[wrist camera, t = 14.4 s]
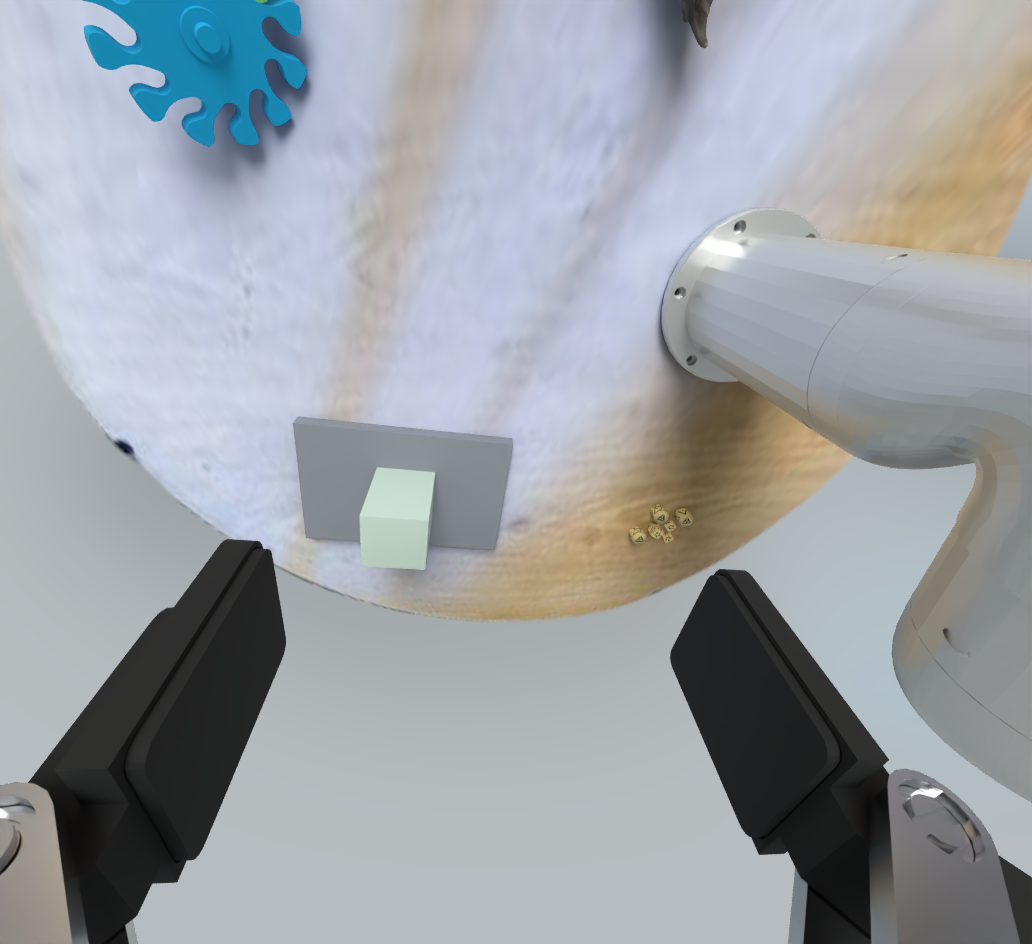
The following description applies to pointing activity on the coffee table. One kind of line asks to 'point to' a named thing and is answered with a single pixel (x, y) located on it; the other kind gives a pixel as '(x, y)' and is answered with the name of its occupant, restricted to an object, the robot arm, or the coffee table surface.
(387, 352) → the coffee table surface
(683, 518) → the dice set
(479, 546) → the pin plate
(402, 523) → the block
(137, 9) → the gear
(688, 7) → the rhino figurine
